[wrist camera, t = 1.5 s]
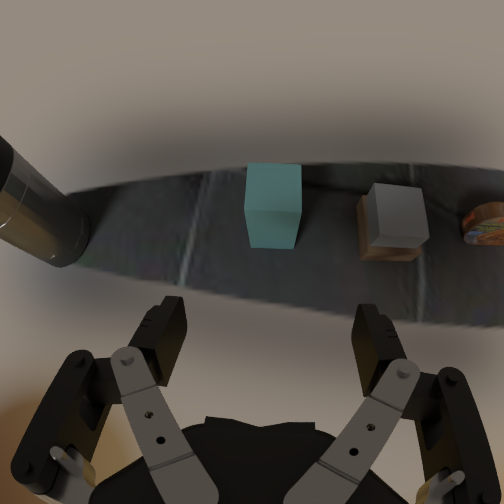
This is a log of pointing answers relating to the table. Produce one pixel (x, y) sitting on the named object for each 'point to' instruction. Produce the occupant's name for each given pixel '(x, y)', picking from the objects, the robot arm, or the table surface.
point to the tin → (484, 224)
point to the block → (273, 204)
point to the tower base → (378, 251)
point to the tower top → (396, 216)
